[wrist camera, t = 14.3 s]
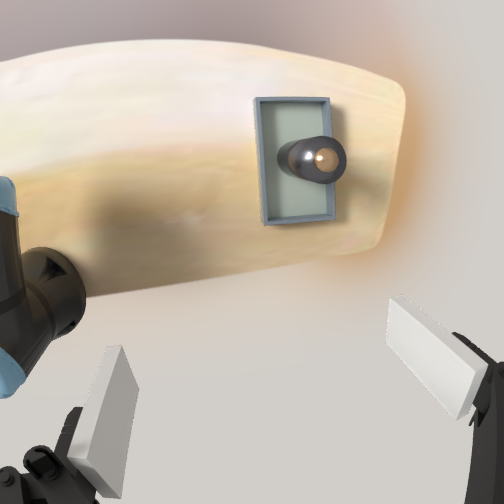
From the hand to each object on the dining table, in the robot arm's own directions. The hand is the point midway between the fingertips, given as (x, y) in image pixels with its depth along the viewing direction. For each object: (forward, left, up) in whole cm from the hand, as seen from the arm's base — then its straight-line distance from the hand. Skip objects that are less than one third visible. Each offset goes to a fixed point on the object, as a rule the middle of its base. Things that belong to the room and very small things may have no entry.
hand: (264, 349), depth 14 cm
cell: (+9, +8, -30) cm, 33 cm away
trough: (+9, +8, -31) cm, 34 cm away
